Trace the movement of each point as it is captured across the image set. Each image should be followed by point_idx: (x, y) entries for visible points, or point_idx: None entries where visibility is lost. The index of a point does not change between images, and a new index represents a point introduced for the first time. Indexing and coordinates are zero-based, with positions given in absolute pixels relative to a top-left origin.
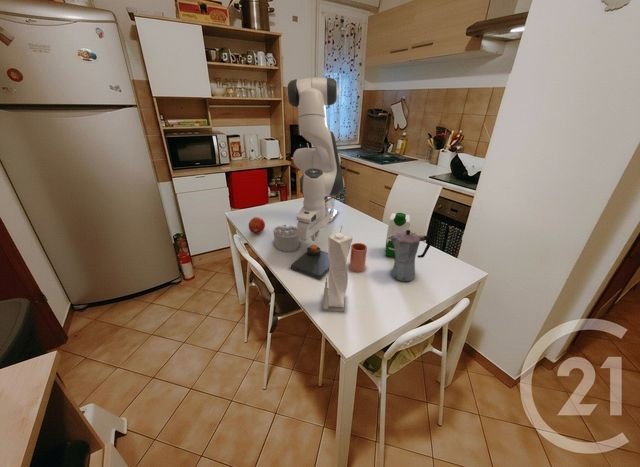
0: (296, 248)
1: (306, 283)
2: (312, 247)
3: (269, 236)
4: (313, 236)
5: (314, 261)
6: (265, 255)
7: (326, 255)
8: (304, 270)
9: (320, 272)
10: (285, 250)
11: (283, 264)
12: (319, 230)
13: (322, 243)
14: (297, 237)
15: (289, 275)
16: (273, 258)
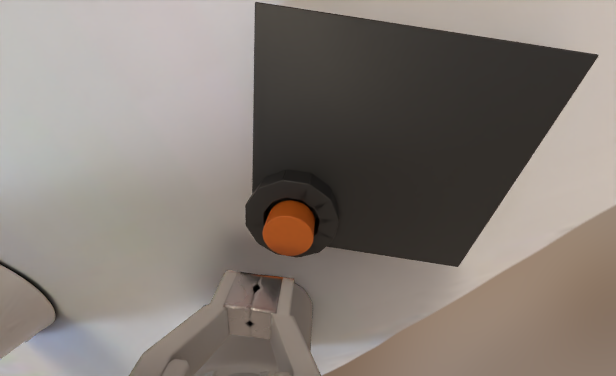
0: None
1: (596, 131)
2: (302, 241)
3: None
4: (306, 351)
5: (394, 170)
6: (368, 343)
7: (291, 120)
8: (506, 189)
9: (546, 72)
10: (312, 309)
11: (415, 283)
12: (145, 360)
13: (154, 198)
14: (247, 338)
15: (506, 236)
16: (380, 320)
